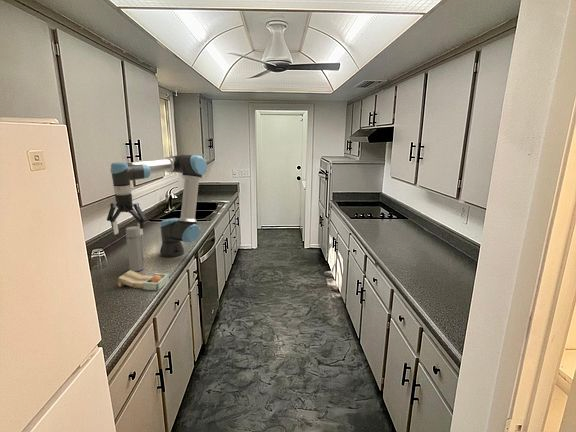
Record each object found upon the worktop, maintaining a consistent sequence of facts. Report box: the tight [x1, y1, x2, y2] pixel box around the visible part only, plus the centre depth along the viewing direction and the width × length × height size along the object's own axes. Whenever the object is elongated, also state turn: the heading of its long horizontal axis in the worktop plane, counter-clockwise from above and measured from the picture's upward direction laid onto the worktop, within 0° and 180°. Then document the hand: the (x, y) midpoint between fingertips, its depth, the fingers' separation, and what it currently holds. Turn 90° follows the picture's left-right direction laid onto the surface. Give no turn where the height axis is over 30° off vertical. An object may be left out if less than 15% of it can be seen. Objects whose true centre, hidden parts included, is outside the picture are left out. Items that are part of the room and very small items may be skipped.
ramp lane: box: [117, 269, 154, 289], centre depth 168 cm, size 10×14×5 cm
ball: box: [151, 275, 162, 283], centre depth 167 cm, size 5×5×5 cm
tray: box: [142, 272, 170, 291], centre depth 167 cm, size 12×8×4 cm, turn 174°
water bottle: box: [125, 225, 147, 273], centre depth 183 cm, size 9×8×25 cm
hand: (128, 234), depth 167 cm, fingers open, 13 cm apart
